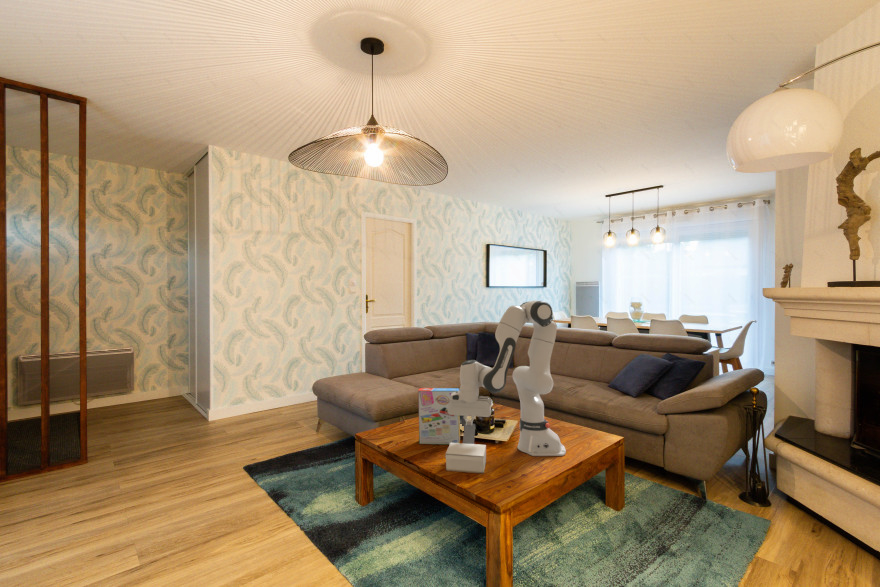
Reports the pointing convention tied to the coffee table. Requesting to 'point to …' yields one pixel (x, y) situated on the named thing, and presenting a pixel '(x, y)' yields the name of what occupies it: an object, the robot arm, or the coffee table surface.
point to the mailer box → (466, 465)
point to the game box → (437, 417)
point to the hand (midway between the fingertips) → (469, 425)
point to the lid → (466, 447)
